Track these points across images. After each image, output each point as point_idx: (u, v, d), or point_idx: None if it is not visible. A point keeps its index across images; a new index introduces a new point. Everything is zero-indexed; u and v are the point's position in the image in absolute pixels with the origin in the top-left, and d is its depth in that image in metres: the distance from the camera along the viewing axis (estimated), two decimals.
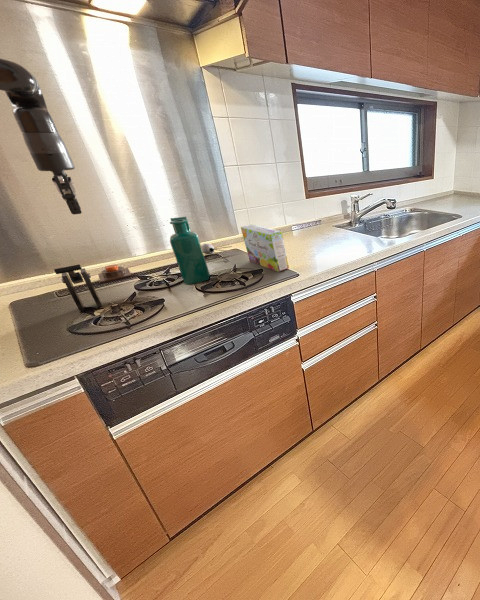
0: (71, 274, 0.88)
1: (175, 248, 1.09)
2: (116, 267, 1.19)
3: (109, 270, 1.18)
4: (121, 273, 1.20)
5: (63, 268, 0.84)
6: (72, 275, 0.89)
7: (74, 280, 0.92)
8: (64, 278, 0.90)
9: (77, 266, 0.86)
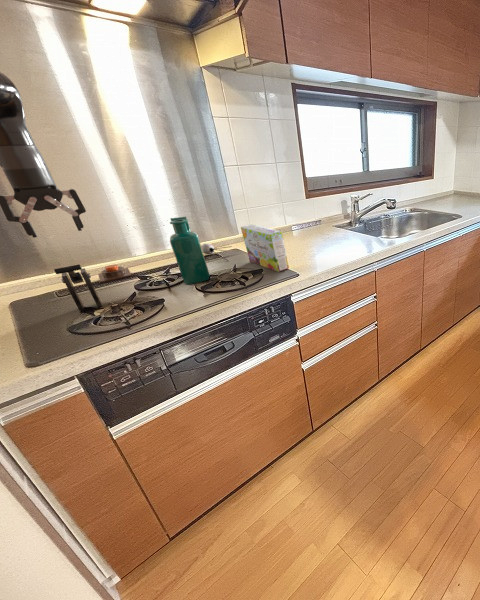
0: (71, 274, 0.88)
1: (175, 248, 1.09)
2: (116, 267, 1.19)
3: (109, 270, 1.18)
4: (121, 273, 1.20)
5: (63, 268, 0.84)
6: (72, 275, 0.89)
7: (74, 280, 0.92)
8: (64, 278, 0.90)
9: (77, 266, 0.86)
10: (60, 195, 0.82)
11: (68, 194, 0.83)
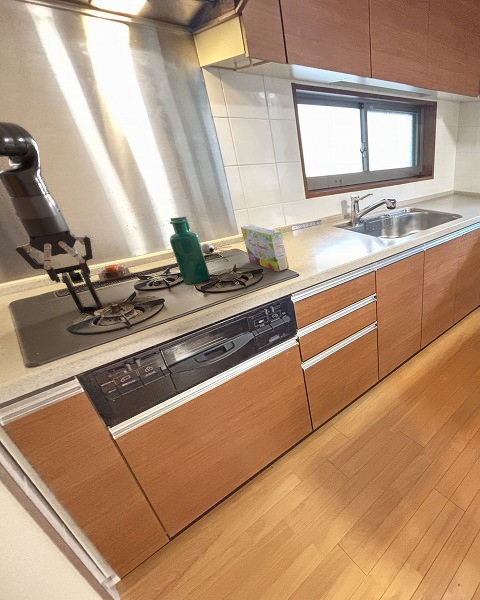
0: (71, 274, 0.88)
1: (175, 248, 1.09)
2: (116, 267, 1.19)
3: (109, 270, 1.18)
4: (121, 273, 1.20)
5: (63, 268, 0.84)
6: (72, 275, 0.89)
7: (74, 280, 0.92)
8: (64, 278, 0.90)
9: (77, 266, 0.86)
10: (74, 240, 0.83)
11: (81, 240, 0.85)
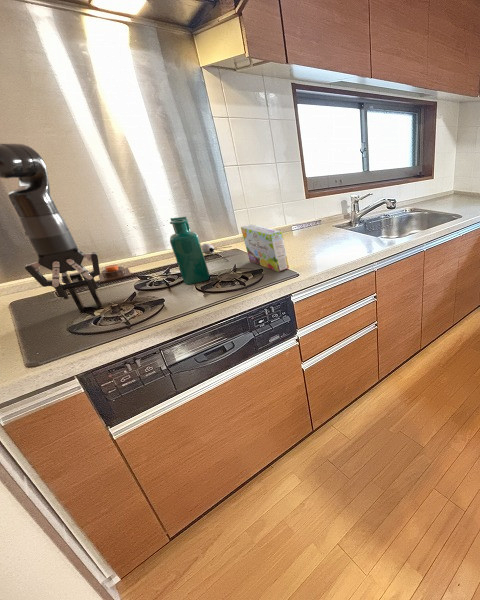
0: None
1: (175, 248, 1.09)
2: (116, 267, 1.19)
3: (109, 270, 1.18)
4: (121, 273, 1.20)
5: (71, 285, 0.85)
6: None
7: None
8: (64, 278, 0.90)
9: (85, 282, 0.87)
10: (81, 257, 0.85)
11: (89, 257, 0.86)
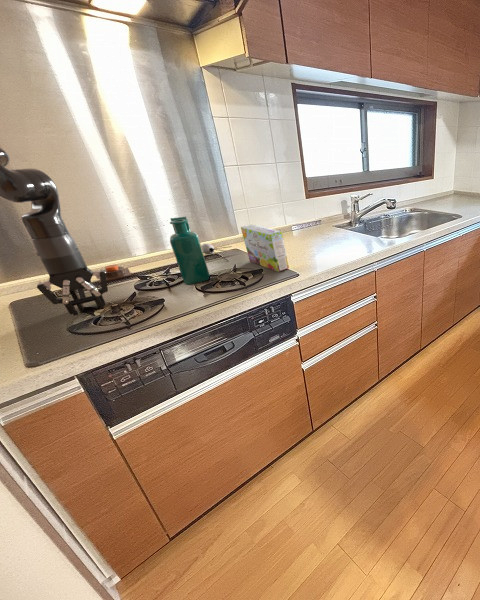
0: None
1: (175, 248, 1.09)
2: (116, 267, 1.19)
3: (109, 270, 1.18)
4: (121, 273, 1.20)
5: (80, 302, 0.88)
6: None
7: None
8: None
9: (93, 299, 0.90)
10: (90, 275, 0.88)
11: (97, 275, 0.89)
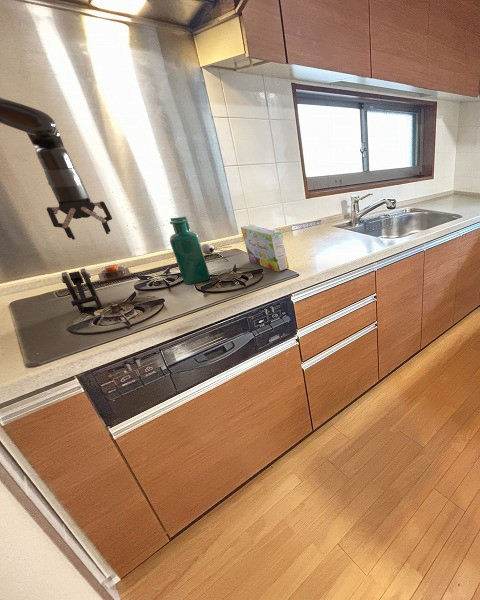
0: None
1: (175, 248, 1.09)
2: (116, 267, 1.19)
3: (109, 270, 1.18)
4: (121, 273, 1.20)
5: (80, 302, 0.88)
6: None
7: None
8: (64, 278, 0.90)
9: (93, 300, 0.90)
10: (93, 206, 1.04)
11: (99, 205, 1.05)
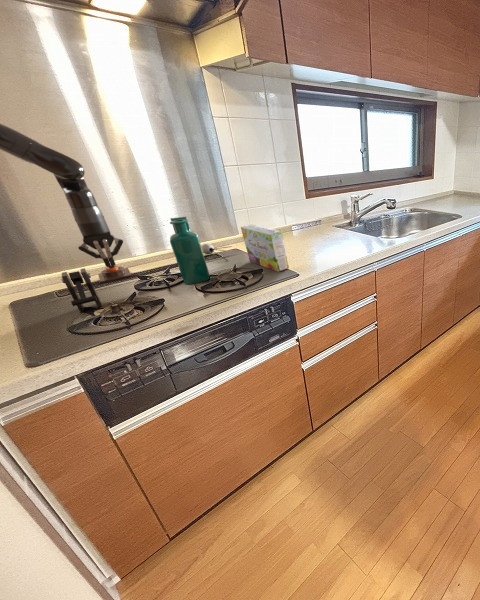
0: None
1: (175, 248, 1.09)
2: (116, 268, 1.19)
3: (109, 271, 1.18)
4: (121, 273, 1.20)
5: (80, 302, 0.88)
6: None
7: None
8: (64, 278, 0.90)
9: (93, 300, 0.90)
10: (112, 238, 1.16)
11: (116, 241, 1.18)
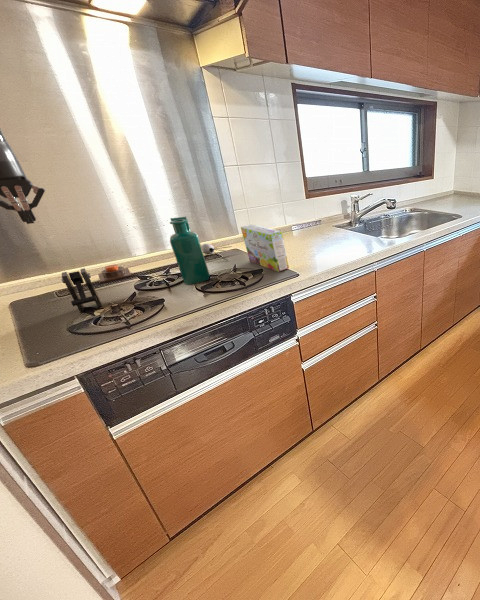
0: None
1: (175, 248, 1.09)
2: (116, 267, 1.19)
3: (109, 270, 1.18)
4: (121, 273, 1.20)
5: (80, 302, 0.88)
6: None
7: None
8: (64, 278, 0.90)
9: (93, 300, 0.90)
10: (29, 185, 0.93)
11: (35, 189, 0.94)
